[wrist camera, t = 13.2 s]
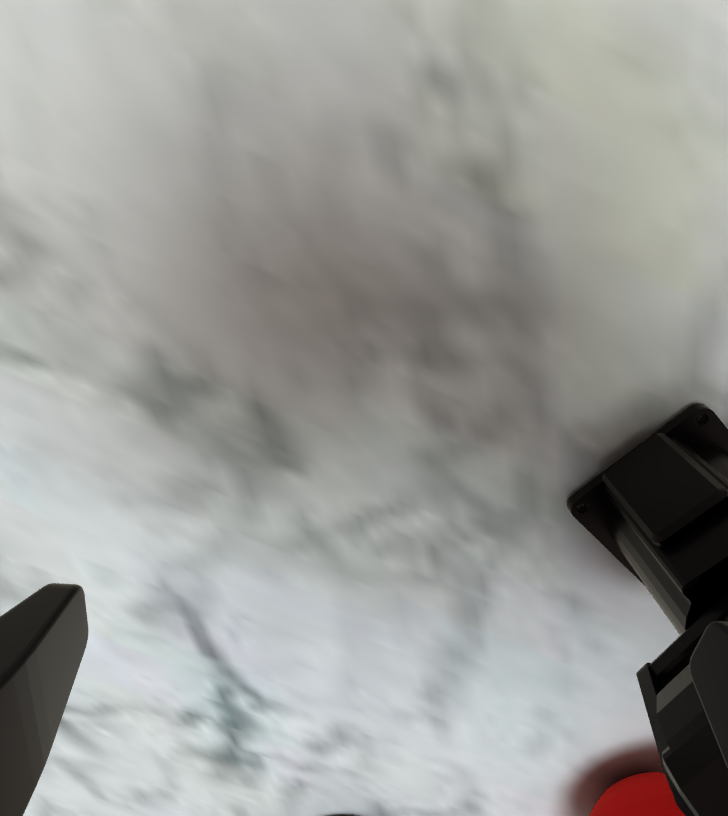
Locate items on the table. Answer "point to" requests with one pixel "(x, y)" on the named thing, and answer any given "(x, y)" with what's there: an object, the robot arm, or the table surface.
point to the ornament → (638, 797)
